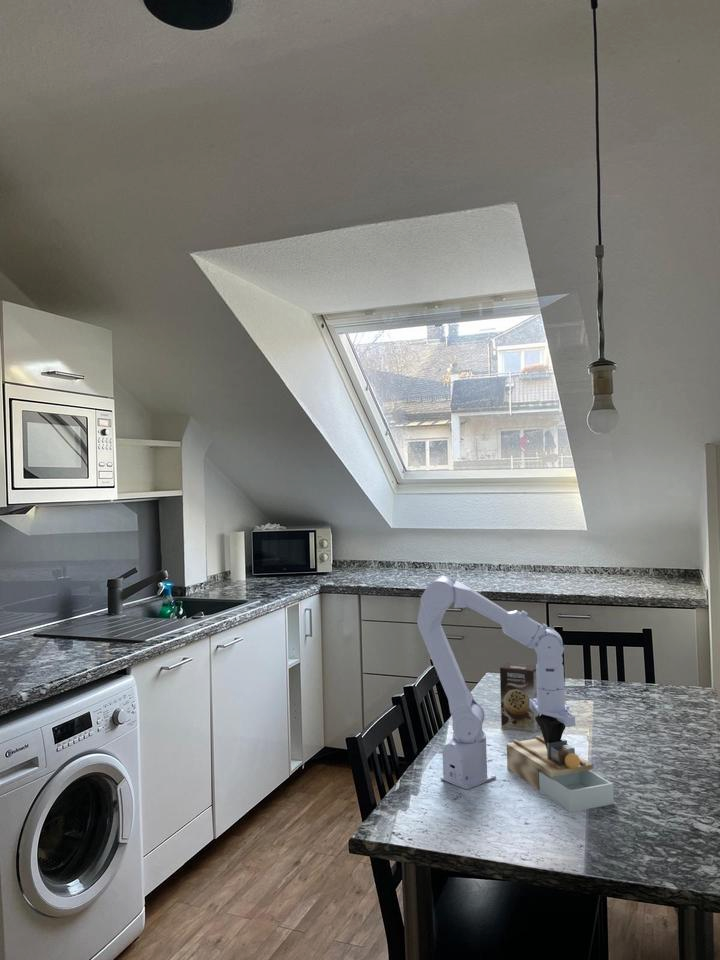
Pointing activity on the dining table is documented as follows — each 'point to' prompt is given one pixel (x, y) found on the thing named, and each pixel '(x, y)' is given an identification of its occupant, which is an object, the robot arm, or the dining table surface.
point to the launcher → (536, 761)
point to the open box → (577, 790)
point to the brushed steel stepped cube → (559, 751)
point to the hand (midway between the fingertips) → (552, 750)
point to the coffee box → (518, 697)
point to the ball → (572, 761)
